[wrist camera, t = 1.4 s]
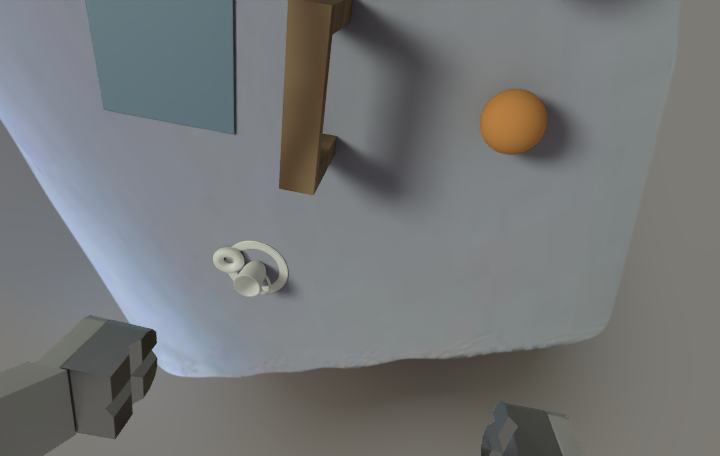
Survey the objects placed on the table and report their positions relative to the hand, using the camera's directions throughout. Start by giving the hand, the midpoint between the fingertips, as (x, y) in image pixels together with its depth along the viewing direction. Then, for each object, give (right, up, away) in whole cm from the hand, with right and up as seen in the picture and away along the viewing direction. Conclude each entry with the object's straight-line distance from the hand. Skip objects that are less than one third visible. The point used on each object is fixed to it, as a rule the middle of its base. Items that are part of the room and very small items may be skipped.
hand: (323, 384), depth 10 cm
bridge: (-2, +18, +31) cm, 36 cm away
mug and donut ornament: (-12, +2, +43) cm, 44 cm away
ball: (+14, +13, +28) cm, 34 cm away
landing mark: (-18, +21, +32) cm, 42 cm away
